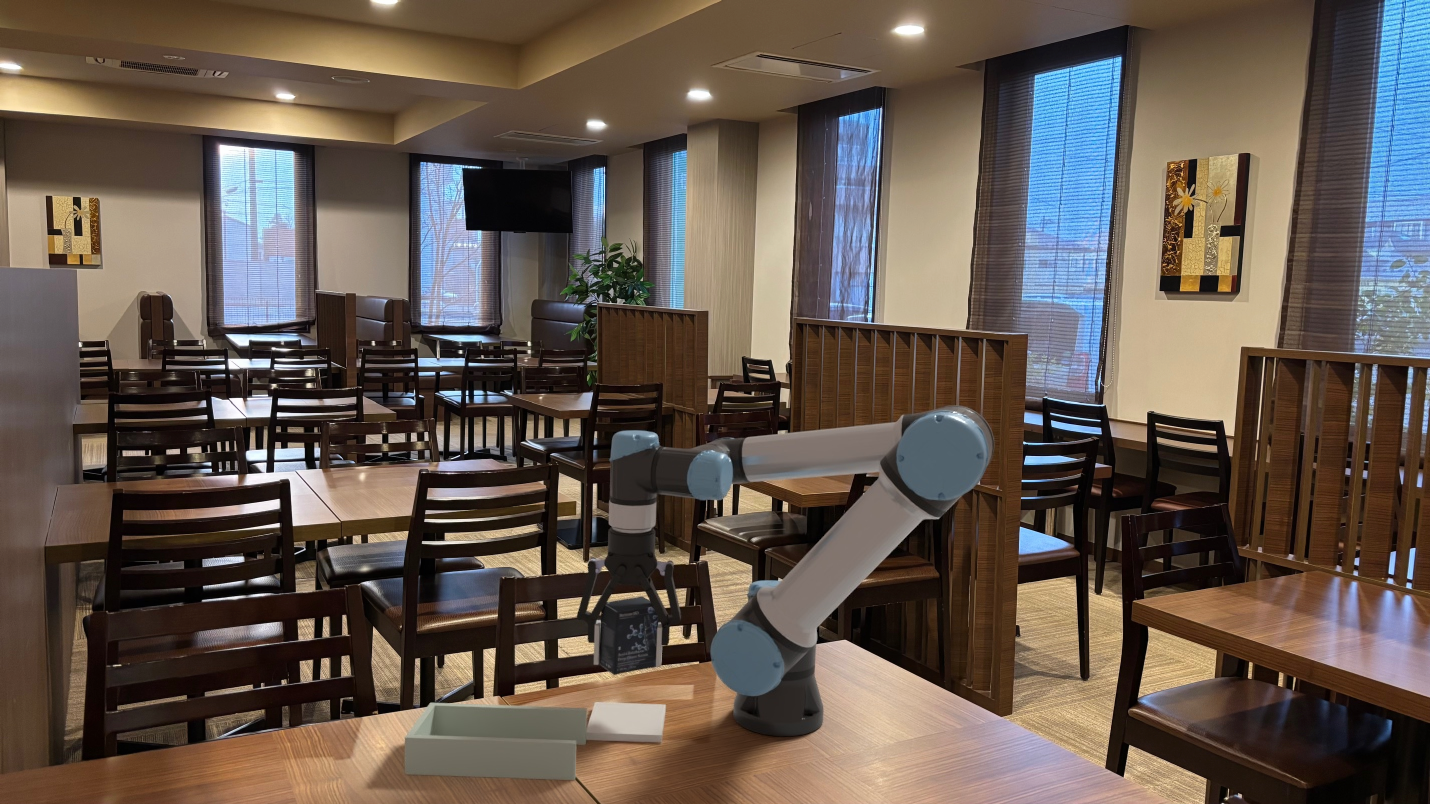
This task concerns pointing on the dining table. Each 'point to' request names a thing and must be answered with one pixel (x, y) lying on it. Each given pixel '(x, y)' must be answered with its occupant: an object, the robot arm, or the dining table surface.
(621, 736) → the plate
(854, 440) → the robot arm
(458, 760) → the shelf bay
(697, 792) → the dining table surface
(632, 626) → the box
